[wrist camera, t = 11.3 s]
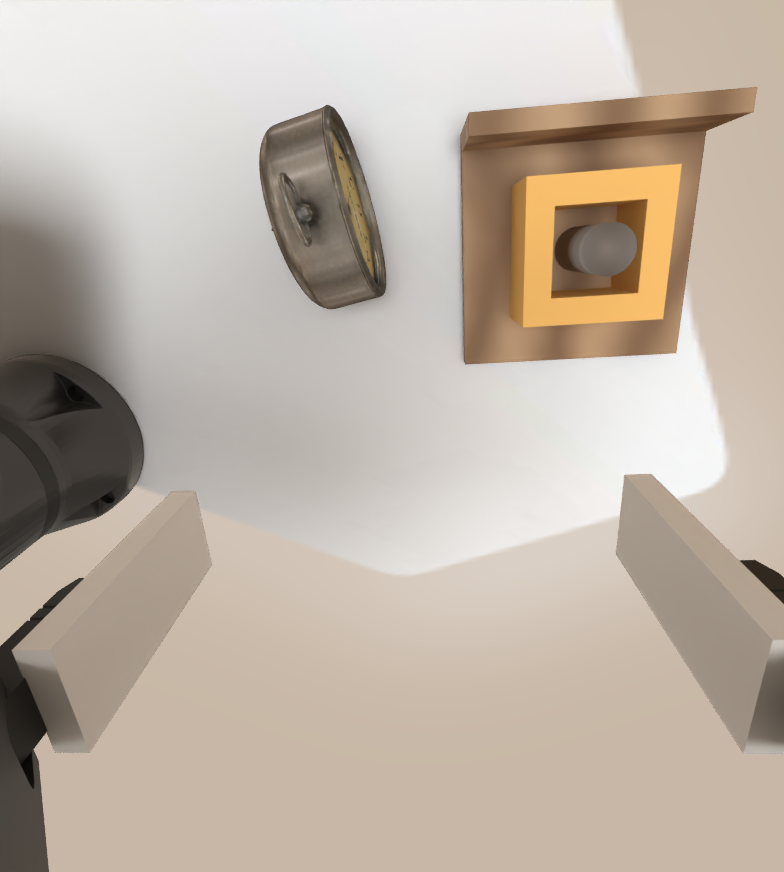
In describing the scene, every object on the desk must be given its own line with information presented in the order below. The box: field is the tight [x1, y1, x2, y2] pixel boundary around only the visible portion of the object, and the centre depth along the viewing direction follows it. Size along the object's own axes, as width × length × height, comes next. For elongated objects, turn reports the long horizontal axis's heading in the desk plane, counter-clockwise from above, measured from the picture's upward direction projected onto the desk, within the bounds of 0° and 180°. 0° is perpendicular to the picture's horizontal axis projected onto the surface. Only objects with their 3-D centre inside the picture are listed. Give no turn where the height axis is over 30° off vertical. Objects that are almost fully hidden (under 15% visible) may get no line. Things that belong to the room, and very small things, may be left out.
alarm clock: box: [259, 105, 386, 309], centre depth 30 cm, size 11×5×16 cm, turn 15°
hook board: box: [461, 87, 757, 364], centre depth 33 cm, size 16×16×8 cm
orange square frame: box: [510, 164, 682, 327], centre depth 34 cm, size 9×9×5 cm
